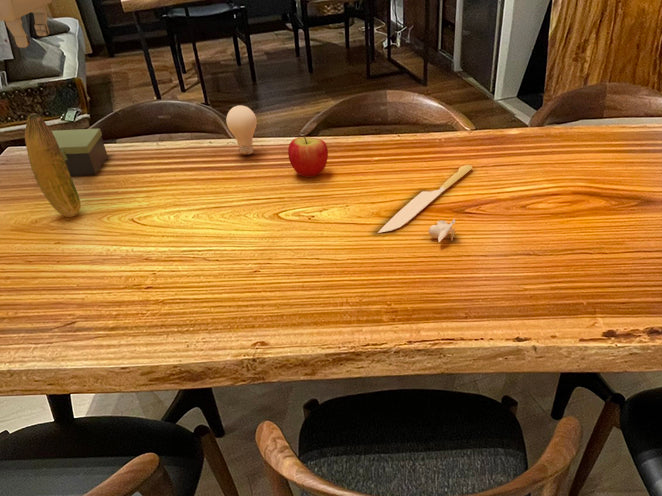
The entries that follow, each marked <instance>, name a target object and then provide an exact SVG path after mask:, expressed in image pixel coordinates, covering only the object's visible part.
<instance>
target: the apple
mask: <svg viewBox="0 0 662 496" xmlns="http://www.w3.org/2000/svg"><path fill="white" fill-rule="evenodd" d="M296 131H297V132H298V133H300V134H301V136H302V137H301V136H300V137H296V138H293V139H292V140H291V141H290V143H289V145H288V149H287V151H288V152H287V156H288V161H289V163H290V165H291V166H292V169H293V171H295V172H296V173H297V174H299V176H302V177H307V178H313V177H316V176H319V175H320V174H322V172H323V171H324V170H325V168H326V165H327V162H328V158H329V149H328V146H327V143H326V141H324V140H323V139H321V138H316V137H311V136H310V137H309V136H305V135H304V134H303V132H302V131H300V129H296Z"/></svg>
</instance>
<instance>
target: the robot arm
mask: <svg viewBox="0 0 662 496" xmlns="http://www.w3.org/2000/svg"><path fill="white" fill-rule="evenodd" d="M53 1H54V0H0V22H5V25H6V28H7V29H8V30H9V32H10V33H11V35H12V37H13V39H14V41H15V45H16V46H17V48H22V49H23V48H28V47H29V46H30V45H31V41H30V38H29V35H28V34H27V33H26V32H25V30H24V28H23V26H22V25H23V21H22V17H25V16H26V15H28V14H33V18H34V24H33V26H34V30H35V33H36V35H37V36H38V37H46V36H48V35H49V34H50V29H49V26H48V14H47V13H48V12H47V8H46V6H47V5H49V4H51V3H53Z"/></svg>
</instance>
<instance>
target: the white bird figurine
mask: <svg viewBox="0 0 662 496" xmlns="http://www.w3.org/2000/svg"><path fill="white" fill-rule="evenodd" d="M455 224H456V217H454V218H453V219H452V221H451V222H450V223H448V222H447V221H446V220H444V219H443V220H442V219H441V220H437V224H433V225H430V227H429V228H428V234H429V236H430V237H432V238H435V239H437V240H438V241H437V242H438V243H440V242H441V241H442V240H443V239H444V238H445V237H447V236H448V235H449V234H450V238H451V241H453V240H454V239H453V238H454V236H455V234H456V232H457V231H456V229H457V228H456V227H454V228H453V225H455Z"/></svg>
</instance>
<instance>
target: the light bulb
mask: <svg viewBox="0 0 662 496" xmlns="http://www.w3.org/2000/svg"><path fill="white" fill-rule="evenodd" d="M225 121H226V125H227V126H226V127H227V128H228V130H229V132H230V133H231V134H232V135H233V137H234V138H235V139H236V142H237V145H238V146H239V152H240V154H241V155H243V156H250V155H251V154H253V152H254V148H253V143H254V142H253V141H254V140H253V138H254V134H255V131H256V130H257V129H256V128H257V123H258V122H257V117H256V113H254V111H253V110H252V109H251V108H250V107H249V106H246V105H242V104H241V105H235V106H233V107H232V108H230V109H229V111H228V112H227V115H226V119H225Z"/></svg>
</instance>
